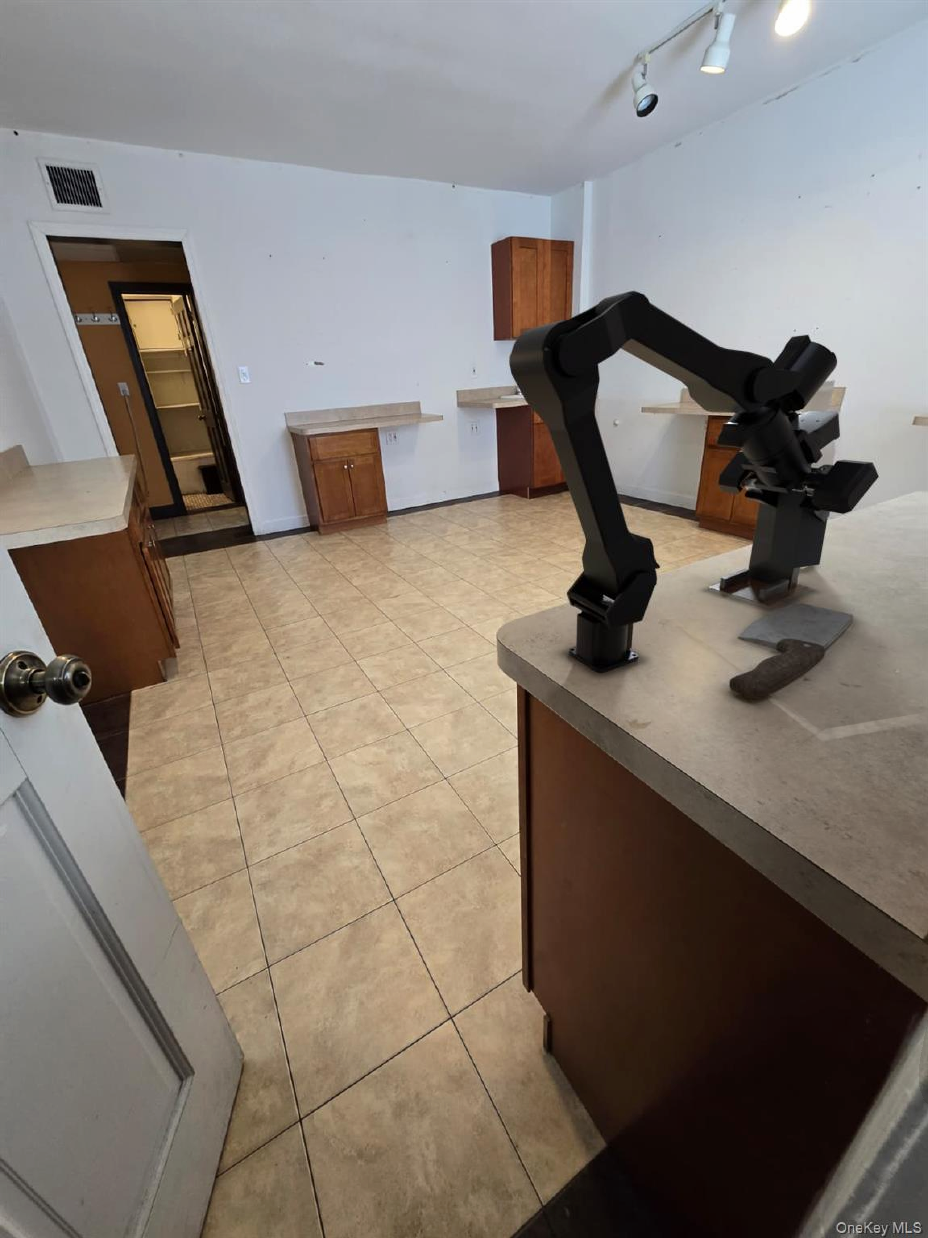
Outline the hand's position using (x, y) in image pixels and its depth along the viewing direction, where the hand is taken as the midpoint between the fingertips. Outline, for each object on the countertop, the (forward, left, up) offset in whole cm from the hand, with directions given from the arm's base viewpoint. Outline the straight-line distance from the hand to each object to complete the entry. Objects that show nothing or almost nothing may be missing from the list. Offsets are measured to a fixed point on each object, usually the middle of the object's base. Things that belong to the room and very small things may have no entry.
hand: (810, 515), depth 72 cm
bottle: (+13, +10, -13) cm, 21 cm away
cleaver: (-15, -9, -13) cm, 22 cm away
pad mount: (0, +5, -13) cm, 14 cm away
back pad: (-2, -1, -7) cm, 7 cm away
